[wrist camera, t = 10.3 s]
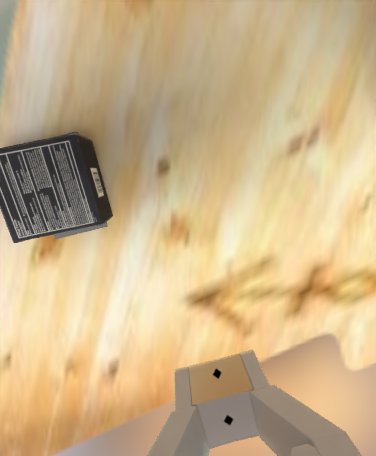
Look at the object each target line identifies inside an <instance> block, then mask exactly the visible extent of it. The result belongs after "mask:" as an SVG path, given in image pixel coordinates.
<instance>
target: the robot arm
mask: <svg viewBox="0 0 376 456" xmlns="http://www.w3.org/2000/svg"><path fill="white" fill-rule="evenodd" d="M175 406H176V411H173V412H171V414H170V415H169V417H168V419H167V421H166V423H165V425H164V426H163V428H162V430H161V432H160V434H159V436H158V437H157V439H156V441H155V443H154V444H153V446H152V448H151V450H150V452H149V454H148V455H147V456H208V455H209V449H211V448H214V447H217V446H221V445H224V444H227V443H231V442H234V441H239V440H243V439H247V438H252V437H256V436H259V437H260V438H261V439H262V440H263V441H264V442H265V443H266V445H267V446H268V447H269V448H270V449H271V450H272V451H273V452H274V453H275V454H276V455H277V456H362V455H361V454H360V452H359V451H358V449H357V448H356V446H355V445H354V443H353V442H352V441H351V439H350V438H349V436H348V435H347V433H346V432H345V431H343V430H342V429H340V428H339V427H337V426H336V425H334V424H333V423H331V422H330V421H328V420H327V419H325V418H324V417H322V416H321V415H319V414H318V413H316V412H315V411H313V410H312V409H310V408H309V407H307V406H305V405H304V404H303V403H301V402H299V401H298V400H296V399H295V398H293V397H292V396H290V395H289V394H287V393H286V392H284V391H283V390H281V389H280V388H278V387H277V386H275V385H272V386H270V385H269V382H268V380H267V378H266V376H265V374H264V372H263V370H262V367H261V365H260V363H259V361H258V359H257V357H256V355H255V353H254V351H253V350H249V351H245V352H242V353H239V354H235V355H231V356H228V357H224V358H220V359H217V360H213V361H209V362H204V363H200V364H196V365H192V366H189V367H184V368H180V369H176V370H175Z"/></svg>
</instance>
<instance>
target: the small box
mask: <svg viewBox="0 0 376 456" xmlns="http://www.w3.org/2000/svg"><path fill="white" fill-rule="evenodd" d="M0 209H1V211H2V214H3V216H4V219H5V221H6V224H7V227H8V229H9V232H10V235H11V237H12V240H13V242H14V243H18V242H22V241H25V240H30V239H34V238H39V237H44V236H49V235H54V234H58V233H63V232H68V231H72V230H77V229H82V228H87V227H92V226H100V225H103V224H104V223H105V222H107V221H108V220H109V219H110V218H111V217H112V216H113V215H112V211H111V208H110V204H109V201H108V197H107V194H106V190H105V187H104V183H103V179H102V176H101V172H100V169H99V165H98V161H97V158H96V154H95V151H94V147H93V143H92V141H91V140H89V139H88V138H85V137H82V136H80V135H78V134H76V133H74V132H72V133H69V134H67V135H64V136H59V137H54V138H49V139H44V140H38V141H33V142H29V143H24V144H19V145H14V146H9V147H4V148H0Z"/></svg>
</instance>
